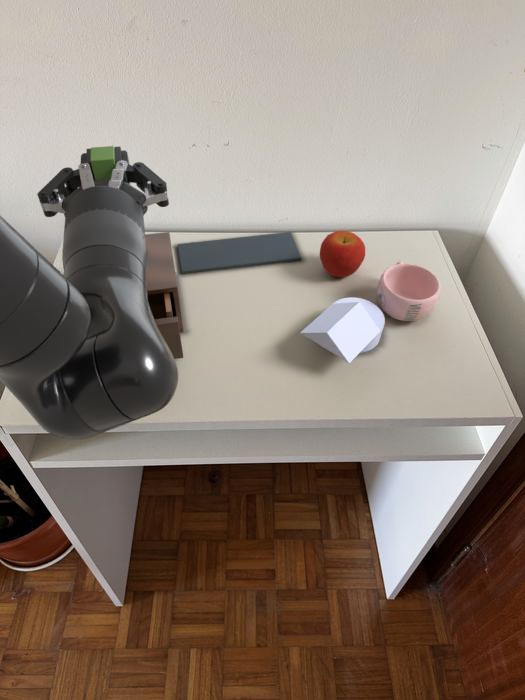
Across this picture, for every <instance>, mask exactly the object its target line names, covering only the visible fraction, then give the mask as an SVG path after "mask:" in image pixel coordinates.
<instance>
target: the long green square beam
mask: <svg viewBox="0 0 525 700" xmlns="http://www.w3.org/2000/svg"><path fill="white" fill-rule="evenodd" d="M114 147H115V146H114V145H109V146H108V145H107V146H94V147H90V149H91V159H90V161H91V165H92V169H93V174H94V178H95V180H97V181H105V180H110V179H111V176H112V172H113V169H115V167H116V164H115V151H114Z"/></svg>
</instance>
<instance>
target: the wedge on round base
mask: <svg viewBox="0 0 525 700" xmlns="http://www.w3.org/2000/svg"><path fill="white" fill-rule="evenodd" d="M385 323H386V319H385V314H384V313H383V311H382V310H381V308H380V307H379V306H377V304H375V303H373V302H371V301H369V300H367V299H364V298H361V297H351V296H350V297H344V298H340V299H337V300H336V301H334V302H333V303H332V304H331V305H329V306H328V307H327V308H326V309H325V310H324V311H322V312H321V314H319V315H318V316H317V317H316V318H315V319H314V320H313V321H312V322H310V323H309V324H308V325H307V326H306V327H305V328H303V330H302V331H300V334H301V335H303V336H304V337H306V338H308V339H309V340H311V341H312V342H314V343H315V344H317V345H319V346H321V347H322V348H324V349H325V350H327V351H328V352H330V353H332V354H333V355H335V356H336V357H338V358H340V359H341V360H343V361H345V362H346V363H348V364H350V363H352V361H353V360H355V358H356V357H357V356H358V355H359V354H360V353H361V354H362V353H365V352H369V351H372V350H373V349H374V348H375V347H377V345H378V344H379V342H380V341H381V336H382V333H383V330H384V327H385Z"/></svg>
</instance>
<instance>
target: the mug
mask: <svg viewBox="0 0 525 700" xmlns="http://www.w3.org/2000/svg"><path fill="white" fill-rule="evenodd" d="M441 285H442V284H441V282H440V280H439V279H438V277H437V276H436V274H435V273H433V272H432V271H431V270H429V269H428V268H426V267H424V266H421V265H420V264H419V265H418V264H415V263H404V262H403V261H401V260H399V261H397V262H396V264H393V265H390V266H389V267H387V268H386V269H385V270H384V271H383V272H382V273H381V275H380V277H379V280H378V283H377V287H376V288H377V291H376V293H377V294H376V295H377V299H378V302H379V306H380V307H381V309H382V310H383V312H385V314H387V315H388V316H390V317H391V318H393V319H394V320H395V319H396V320H397V321H402V322H415V321H419V320H421V319H423V318H425V317H426V316H427V315H429V314H430V313H431V312H432V311H433V310H434V309H435V307H436V306H437V304H438V302H439V300H440V297H441V292H442V286H441Z"/></svg>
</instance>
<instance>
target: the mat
mask: <svg viewBox="0 0 525 700" xmlns="http://www.w3.org/2000/svg"><path fill="white" fill-rule="evenodd" d="M177 250H178V258H179V263H180V269H181V270H180V271H181V274H182V275H184V274H185V275H186V274H192V273H193V274H194V273H202V272H209V271H218V270H220V271H221V270H227V269H235V268H245V267H253V266H261V265H270V264H279V263H287V262H294V261H301V260H302V256H301V253H300V252H299V248H298V246H297V244H296V242H295V239H294V237H293V235H292V232H291V231H288V232H279V233H278V232H277V233H268V234H260V235H249V236H240V237H232V238H223V239H222V238H221V239H213V240H203V241H195V242H194V241H193V242H187V243H186V242H184V243H177Z"/></svg>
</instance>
